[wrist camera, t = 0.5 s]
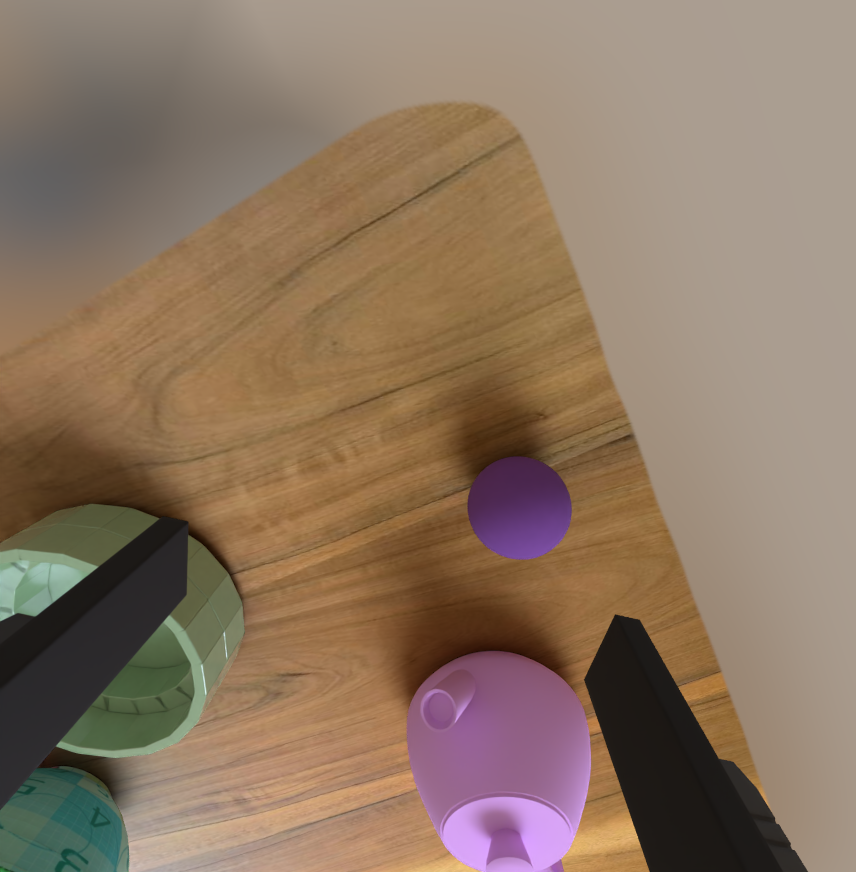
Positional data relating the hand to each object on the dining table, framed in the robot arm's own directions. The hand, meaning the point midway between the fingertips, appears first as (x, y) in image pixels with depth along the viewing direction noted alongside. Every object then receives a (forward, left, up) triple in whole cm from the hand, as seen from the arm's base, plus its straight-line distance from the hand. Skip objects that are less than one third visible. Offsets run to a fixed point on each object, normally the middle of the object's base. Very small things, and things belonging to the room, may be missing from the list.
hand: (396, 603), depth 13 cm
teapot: (+19, +14, -15) cm, 28 cm away
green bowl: (+22, -15, -15) cm, 31 cm away
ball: (+1, +7, -15) cm, 16 cm away
